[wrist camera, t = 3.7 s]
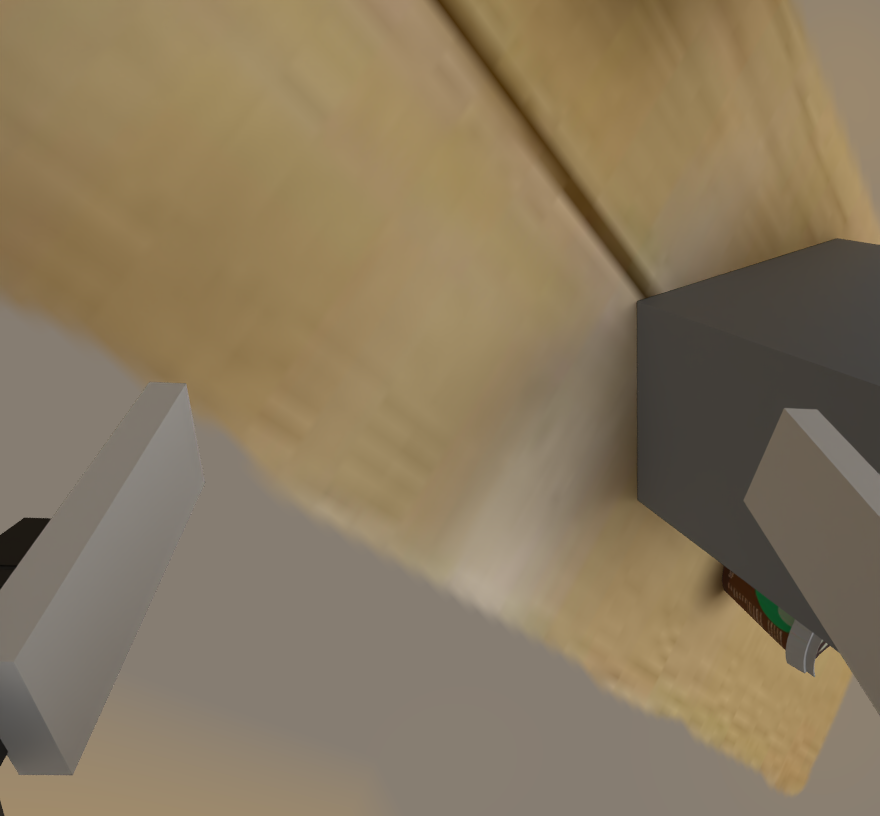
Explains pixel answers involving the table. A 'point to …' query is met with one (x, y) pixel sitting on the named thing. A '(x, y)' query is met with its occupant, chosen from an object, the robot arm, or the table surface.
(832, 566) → the robot arm
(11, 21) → the table surface
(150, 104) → the table surface
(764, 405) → the cabinet
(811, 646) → the food container
